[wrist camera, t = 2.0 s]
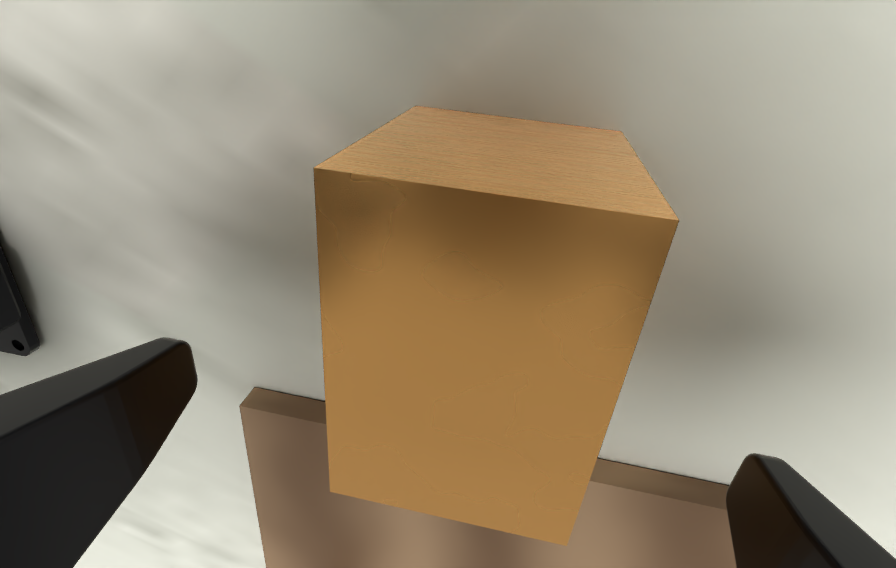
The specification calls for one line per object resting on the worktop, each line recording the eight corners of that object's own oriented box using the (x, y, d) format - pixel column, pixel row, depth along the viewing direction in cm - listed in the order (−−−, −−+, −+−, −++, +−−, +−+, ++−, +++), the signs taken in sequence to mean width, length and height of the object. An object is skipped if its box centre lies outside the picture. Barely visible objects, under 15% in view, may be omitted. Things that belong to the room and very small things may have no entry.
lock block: (404, 334, 15) (330, 492, 10) (416, 105, 12) (314, 167, 7) (561, 363, 15) (566, 546, 10) (620, 130, 11) (679, 220, 6)
